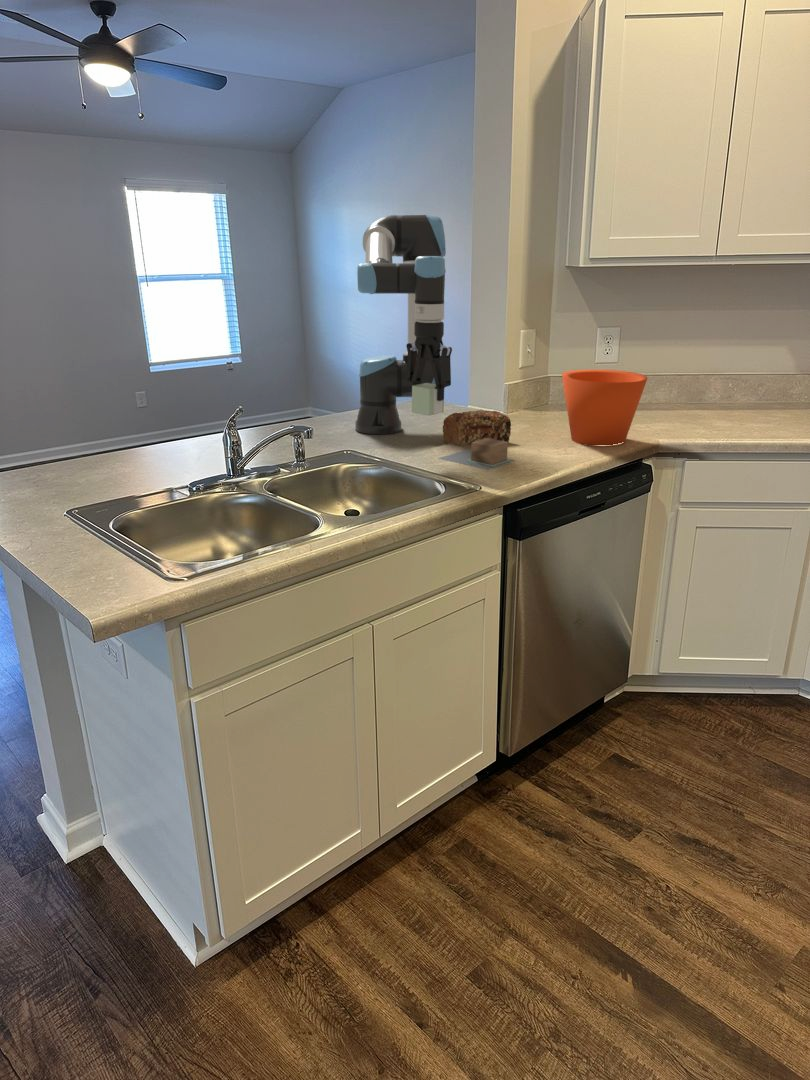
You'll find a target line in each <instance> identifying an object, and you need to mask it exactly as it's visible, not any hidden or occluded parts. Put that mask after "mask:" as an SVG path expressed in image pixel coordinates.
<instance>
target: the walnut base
mask: <svg viewBox="0 0 810 1080" xmlns="http://www.w3.org/2000/svg"><path fill="white" fill-rule="evenodd" d="M508 444H509V442H505V441H500V440H495V439H490V438H485V439H482V440H478V441H475V442H472V444H471V449H470V450H471V460H472V461H476V462H481V463H485V464H490V465H493V464H496V463H499V462H502V461H505V460H507V458H508V449H509V447H508V446H509V445H508Z"/></svg>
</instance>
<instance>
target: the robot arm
mask: <svg viewBox="0 0 810 1080" xmlns="http://www.w3.org/2000/svg"><path fill="white" fill-rule="evenodd" d="M444 228H445V227H444V223H443V220H442V218H441V217H440V216H438V215H429V214H424V215H423V214H413V215H411V214H408V215H406V214H405V215H402V214H400V215H399V214H398V215H397V214H391V215H386V216H383V217H381V218H378V219H377V220H375V221H374V222H372V223H371V224H370V225H369V226H368V227H367V228H366V230H365V232H364V234H363V235H362V247H363V250H364V252H365V262H363V263H362V262H361V263H359V264H358V265H357V267H356V268H357V269H356V270H357V271H356V275H357V290H358V292H359V293H360V294H369V295H375V294H377V295H378V294H380V295H382V294H388V295H389V294H391V295H393V294H396V295H397V294H404V295H405V294H407V344H406V345H405V346H406V350H405V351H404V352H403V353H402V359H397V356H396V355H394V354H386V355H385V354H383V355H378V356H377V355H376V356H372V357H371V356H370V357H368V358H365V359H363V360H361V361H360V363H359V374H358V377H359V399H360V400H359V403H360V404H359V405H360V406H359V409H358V412H357V418H356V420H355V423H354V425H355V428H354V429H355V431H357V432H358V433H362V434H369V435H387V434H388V435H389V434H394V433H398V432H400V431H402V420H401V419H400V415H399V411H398V406H397V398H412V386H414V385H419V384H424V383H430V384H436V387H434V396H433V413H434V415H437V414H436V413H438V414H441V413H440V412H442V400H444V401H445V388H446V387H447V388H448V387H450V386H452V375H451V374H452V369H451V367H452V366H451V356H452V352H453V348H452V347H451V346H449V347H448V346H446V345H444V342H443V337H444V334H445V333H444V331H445V329H444V328H445V323H444V321H443V320H444V319H445V289H446V288H445V287H446V286H445V282H446V259H445V258H444V257H446V252H447V250H446V235H445V230H444ZM393 257H402V262H401V263H400V262H399V263H397V262H395V263H394V262H393ZM442 413H443V412H442Z"/></svg>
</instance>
